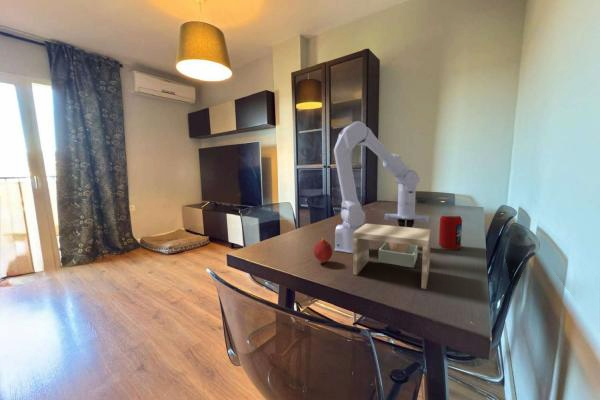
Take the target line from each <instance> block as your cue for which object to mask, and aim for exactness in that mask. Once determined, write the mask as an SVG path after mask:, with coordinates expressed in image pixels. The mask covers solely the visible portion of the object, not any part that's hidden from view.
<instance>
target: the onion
mask: <svg viewBox="0 0 600 400" xmlns="http://www.w3.org/2000/svg"><path fill="white" fill-rule="evenodd" d="M313 255H314V257H315V259H317V261H318V262H320V263H322V264H325V263H326V262H328V261H330V259H331V258H332V256H333V247H332V245H331V244H330V243H329V242H328V241H327V240H325V238H323V237H322V238H320V241H318V242H317V243H316V244H315V245H314V248H313Z"/></svg>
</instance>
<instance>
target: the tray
mask: <svg viewBox="0 0 600 400" xmlns="http://www.w3.org/2000/svg"><path fill="white" fill-rule="evenodd" d="M381 245H382V246H381V247H379V249H378V254H377V255H378V257H377V258H378V263H382V264H388V265H389V264H390V265H395V266H400V267H407V268H414V267H415V265H416V261H417V260H418V250H419V248H418V247H419V246H416V245H408V254H406V253H399V252H391V251H389V242H383V244H381Z"/></svg>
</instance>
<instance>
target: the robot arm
mask: <svg viewBox="0 0 600 400" xmlns="http://www.w3.org/2000/svg"><path fill="white" fill-rule="evenodd" d="M356 145H358V146H365V147H366V148H368V149H369V150H370V151H372V152H373V153H374V154H375V155H376V156H377V157H378V158H379V159H380V160H381V161H382V166H383V168H385V170H387V171H388V172H389V173H390V175H392V177H394V180H395V183H396V184H398V187H397V190H398V191H397V213H385V214H384V220H386V221H387V220H388V221H389V220H393V221H397V224H398V226H399V227H410V228H413V226H414V224H415V222H423V223H424V222H425V223H429V219H430V216H429V215H423V214H415V213H416V210H415V209H416V194H417V193H416V190H417V186H418V184H419V183H420V179H421V178H420V177H419V173H418V172H417V171H415V170H414V169H411V166H410V165H408V164H406V163H405V162H404V161H403V160H402V156H401V155H400V154H396V153H390V151H389V150H388V149H387V148H386V146H384V144H382V143H381V141H380V140H379V139H378V138H377V137H376V136H375V134H374V133H373V131H372V130H371V128H369V127H367V125H366V124H365V123H364V122H362V121H358V120H357V121H353V122H351V123H350V124H349V125H347V126H345V127H344V128H343V129H342V130H341V131H340V132H339V133H338V138H337V141H336V143H335V145H334V148H333V154H334V155H333V156H334V160H335V167H336V171H337V177H338V181H339V188H340V193H341V198H342V199H341V200H342V202H341V205H340V206H341V210H340V218H341V219H342V220H343V222H342V224H337V225H336V227H335V231H334V249H333V250H334V251H336V252H342V253H349V254H353V232H355V231H356V230H357V229H359V228H360V227H362V226H363V225H364V224H365V222H366V213H365V212H364V210H363V209H362V204H361V203H360V201H359V199H358V194H357V189H356V182H355V178H354V172H353V171H354V170H353V165H352V160H351V151H352V150H353V149H354V148H355V146H356Z"/></svg>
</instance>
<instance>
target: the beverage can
mask: <svg viewBox="0 0 600 400" xmlns="http://www.w3.org/2000/svg"><path fill="white" fill-rule="evenodd" d="M462 227H463V219H462V217H461V215H460V214H457V213H452V212H451V213H450V212H449V213H448V212H445V213H442V214H441V216H440V218H439V231H438V233H439V234H438V245H439V246H440V247H441V248H443V249H445V250H457V249H459V248H461V244H462V232H463V231H462V230H463V228H462Z"/></svg>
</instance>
